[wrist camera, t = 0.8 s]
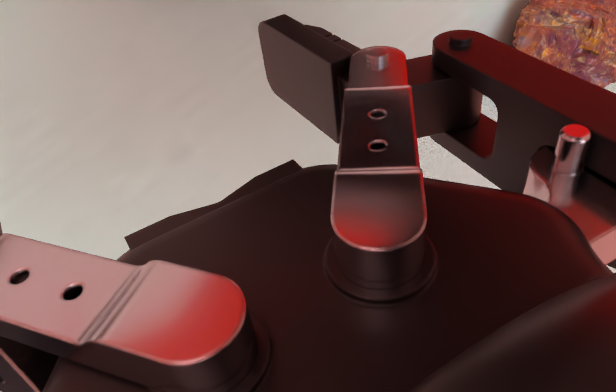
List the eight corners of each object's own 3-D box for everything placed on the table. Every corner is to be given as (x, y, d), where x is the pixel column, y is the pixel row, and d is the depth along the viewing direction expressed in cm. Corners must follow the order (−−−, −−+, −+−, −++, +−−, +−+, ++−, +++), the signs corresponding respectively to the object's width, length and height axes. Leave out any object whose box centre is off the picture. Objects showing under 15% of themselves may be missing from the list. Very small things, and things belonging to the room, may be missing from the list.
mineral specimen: (586, -81, 36) (688, -55, 33) (580, -9, 43) (664, 19, 39) (481, 53, 36) (573, 93, 33) (492, 104, 43) (569, 143, 39)
